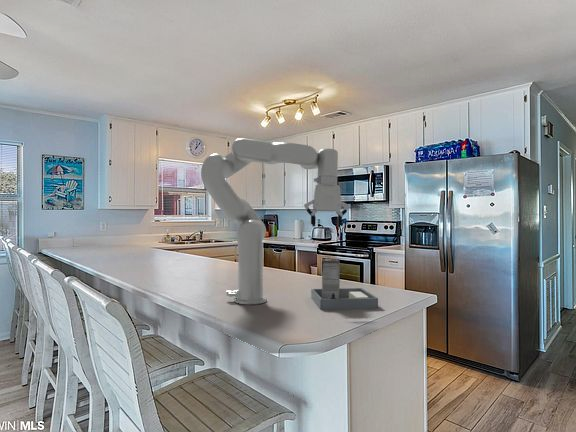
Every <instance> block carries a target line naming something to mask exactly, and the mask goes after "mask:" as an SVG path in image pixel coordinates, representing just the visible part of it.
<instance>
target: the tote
mask: <svg viewBox="0 0 576 432" xmlns="http://www.w3.org/2000/svg"><path fill="white" fill-rule="evenodd" d="M349 292H362V293H363V294H365V295H366V296H368V297H369V298H349ZM310 296H311V297H310V298H311V300H312V301H313V302H314V304H315V305H316V306H317V308H318V309H319V310H322V311H323V310H324V311H327V310H328V311H329V310H330V311H333V310H339V311H340V310H366V309H367V310H368V309H369V310H371V309H372V310H373V309H374V310H375V309H379V298H378V297H377V296H375V294H372V293H370V292H369V291H367V290H366V289H364V288H362V287H352V288H351V287H350V288H349V287H348V288H347V287H345V288H344V287H343V288H342V287H341V288H340V291H339V299H322V288H311V290H310Z"/></svg>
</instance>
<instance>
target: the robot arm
mask: <svg viewBox="0 0 576 432" xmlns="http://www.w3.org/2000/svg"><path fill="white" fill-rule="evenodd" d="M231 144H232V145H231V152H229V153H227V154H226V155H222V154H218V153H213V154H210V155H208V156H207V157H206V158H205V159H204V160H203V163H202V164H201V165H202V166H201V170H200V176H201V181H202V183H203V186H204V188H205V189H206V191H207V193H208V194H209V196H210V197H211V199H213V201H214V202H215V204H216V206H217V207H218V208H219V209H220V211H221V212H222V214H223V215H224V217H225V218H226V220H228V221H230V222H233V223H234V224H235V225H236V226H237V232H236V233H237V234H236V240H237V250H238V251H237V257H238V265H237V267H238V268H237V269H238V270H237V271H238V272H237V276H238V277H237V278H238V279H237V280H238V281H237V285H238V286H237V289H235V290H226V297H233V300H234V301H233V302H234V303H236V304H238V303H239V304H240V305H260V304H264V303H266V302H267V300H268V299H267V296H265V295H263V294H264V288H263V287H264V253H263V252H264V251H263V249H264V248H263V240H264V239H265V237H266V235H267V228H266V225H265V223H264V221H262V219H261V218H260V216H259V215H258V214H257V212H256V211H255V210H254V208H253V207H252V206H251V205H250V203H249V202H248V201H247V200H245V199H243V198H240V196H238V194H237V193H236V192H235V191H234V189H233V187H232V186H231V185H230V183H229V182H228V181H227V179H228V178H230V177H232V176H234V175H236V174H237V173H238V172H240V171H241V170H243V169H244V168H245V167H246V166H248V165H250V164H251V163H252V162H253V163H260V164H266V165H267V164H268V165H275V164H279V163H284V164H293V165H300V166H301V168H302V169H305V170H314V169H317V176H316V177H315V178H313V183H316V185H315V186H314V187H315V188H314V191H313V192H314V194H313V200H310V201H308V202H305V203H304V205H303V207H304V209H305V210H306V212H307V213H308V214H309V216H310V225H311V226H312V227H314V228H315V227H316V218H317V217H316V214H317V212H334V213H336V214H337V218H336V227H338V228H341V226H342V225H343V216H344V215H345V214H346V213H347V211H349V208H350V205H349V204H347V203H346V202H344V201H342V198H341V197H342V196H341V188H340V185H338V170H339V169H338V168H339V167H338V166H339V165H338V163H339V153H338V150H336V149H335V148H322V149H320V150H319V151H317V150H316V149H315V148H314V147H313V146H311V145H308V144H303V143H302V144H301V143H300V144H299V143H295V142H278V141H275V142H274V141H266V140H259V139H253V138H251V139H250V138H246V137H245V138H244V137H241V138H237V139H235V140H234V141H233V142H232V143H231ZM310 206H313V207H312V208H313V210H311V209H310ZM342 207H343V208H344V209H343V210H342V211H341V208H342ZM239 304H238V305H239Z"/></svg>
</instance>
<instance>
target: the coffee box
mask: <svg viewBox="0 0 576 432" xmlns="http://www.w3.org/2000/svg"><path fill="white" fill-rule="evenodd" d="M340 265H341V263H340V258H330V257H329V258H326V257H325V258H322V261H321V289H322V299H339V291H340V282H341V281H340V276H341V275H340V273H341V272H340V271H341V270H340V268H341V267H340Z"/></svg>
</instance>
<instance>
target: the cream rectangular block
mask: <svg viewBox="0 0 576 432" xmlns="http://www.w3.org/2000/svg"><path fill="white" fill-rule="evenodd" d="M349 298H369V297H368V296H366V295H365V294H363V293H362V292H349Z"/></svg>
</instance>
